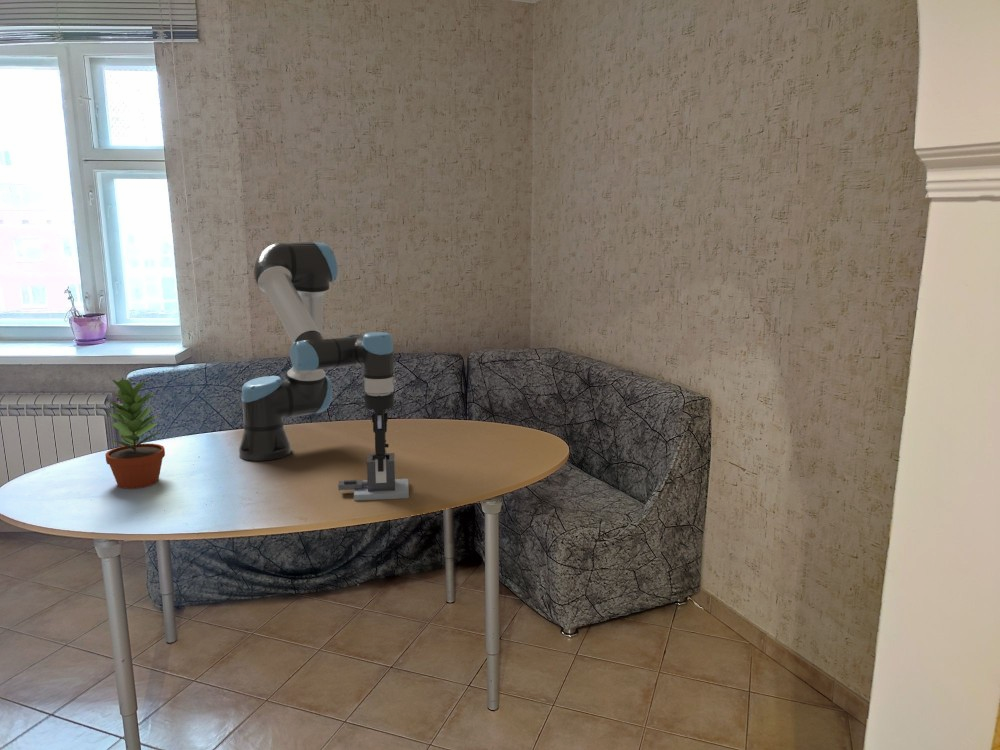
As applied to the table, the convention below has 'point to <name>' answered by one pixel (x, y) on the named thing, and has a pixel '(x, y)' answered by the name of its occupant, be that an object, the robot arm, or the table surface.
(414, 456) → the table surface
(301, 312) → the robot arm
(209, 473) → the table surface
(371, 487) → the grey square socket
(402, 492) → the keeper
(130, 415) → the potted plant
